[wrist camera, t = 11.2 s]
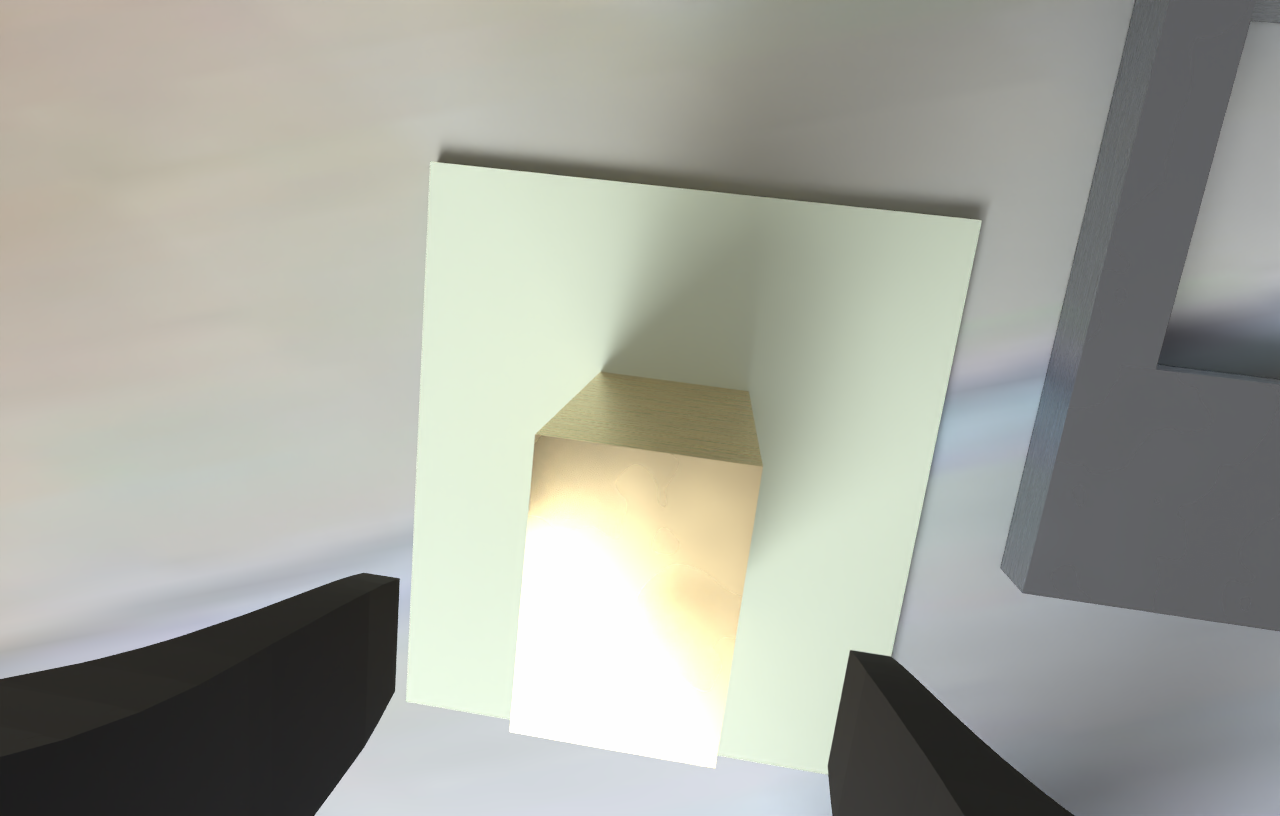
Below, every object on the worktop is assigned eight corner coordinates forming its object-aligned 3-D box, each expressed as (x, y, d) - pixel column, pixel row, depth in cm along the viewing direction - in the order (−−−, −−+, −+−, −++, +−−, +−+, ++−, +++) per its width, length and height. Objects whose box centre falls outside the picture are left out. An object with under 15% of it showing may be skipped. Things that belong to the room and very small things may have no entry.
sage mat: (862, 771, 22) (865, 781, 21) (411, 694, 23) (405, 701, 22) (976, 221, 18) (982, 220, 18) (436, 163, 19) (429, 161, 19)
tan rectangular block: (717, 597, 20) (715, 768, 14) (579, 575, 21) (509, 731, 14) (749, 391, 19) (762, 466, 12) (600, 371, 20) (535, 434, 13)
